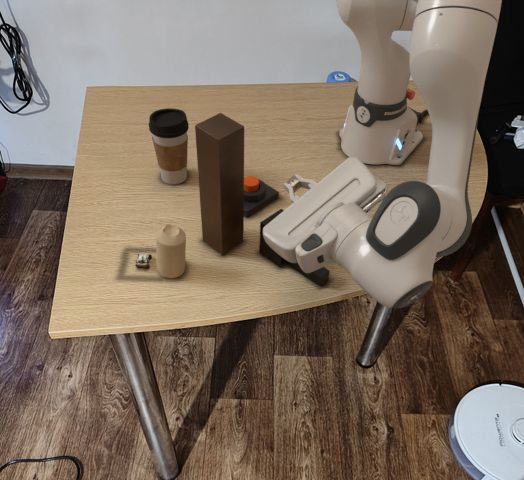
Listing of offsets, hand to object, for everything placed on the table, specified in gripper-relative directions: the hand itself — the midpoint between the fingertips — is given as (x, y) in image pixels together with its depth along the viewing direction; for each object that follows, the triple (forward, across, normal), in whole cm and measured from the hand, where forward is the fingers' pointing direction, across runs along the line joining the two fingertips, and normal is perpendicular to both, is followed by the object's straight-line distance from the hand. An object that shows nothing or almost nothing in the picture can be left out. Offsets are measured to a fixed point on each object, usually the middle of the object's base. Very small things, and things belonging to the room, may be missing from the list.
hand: (290, 180), depth 93 cm
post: (+12, +13, +19) cm, 26 cm away
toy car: (+15, +28, +13) cm, 35 cm away
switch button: (+20, 0, +22) cm, 30 cm away
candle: (+11, +25, +14) cm, 31 cm away
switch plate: (+20, +1, +25) cm, 32 cm away
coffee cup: (+36, +11, +23) cm, 44 cm away
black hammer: (-2, +5, +21) cm, 22 cm away
